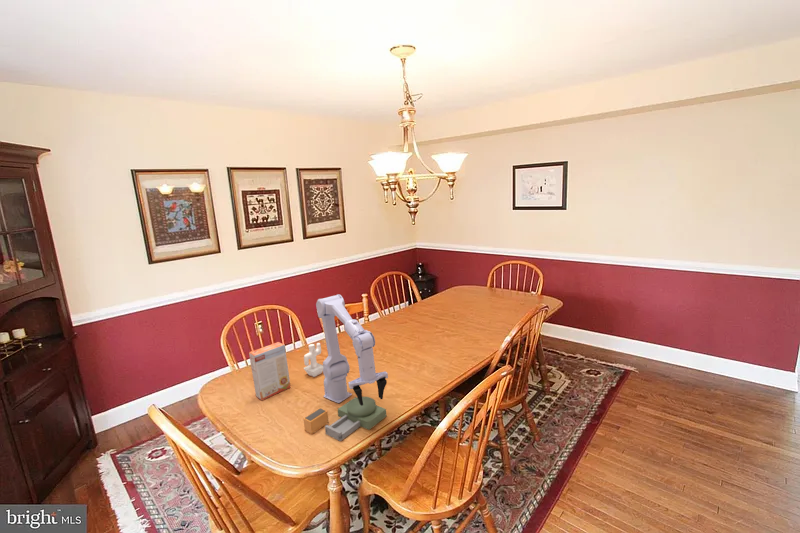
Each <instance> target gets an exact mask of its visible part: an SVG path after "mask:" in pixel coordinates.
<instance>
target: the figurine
mask: <svg viewBox="0 0 800 533" xmlns="http://www.w3.org/2000/svg"><path fill="white" fill-rule="evenodd" d="M321 345H322V344H321V343H320V342H316V345H315V344H314V343H310V344H309V345H308V350H309V351H308V352H307V353H305V354H304V355H303V362H304V366H305V367H303V370H304V372H305V373H306V374H308V376H310V377H312V378H315V377H318V376H319V375H321V374H322V373H323V364H320V363H319V362H318V361H317V356H318V355H321V353H322V347H321ZM309 360H310V361H309Z"/></svg>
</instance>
